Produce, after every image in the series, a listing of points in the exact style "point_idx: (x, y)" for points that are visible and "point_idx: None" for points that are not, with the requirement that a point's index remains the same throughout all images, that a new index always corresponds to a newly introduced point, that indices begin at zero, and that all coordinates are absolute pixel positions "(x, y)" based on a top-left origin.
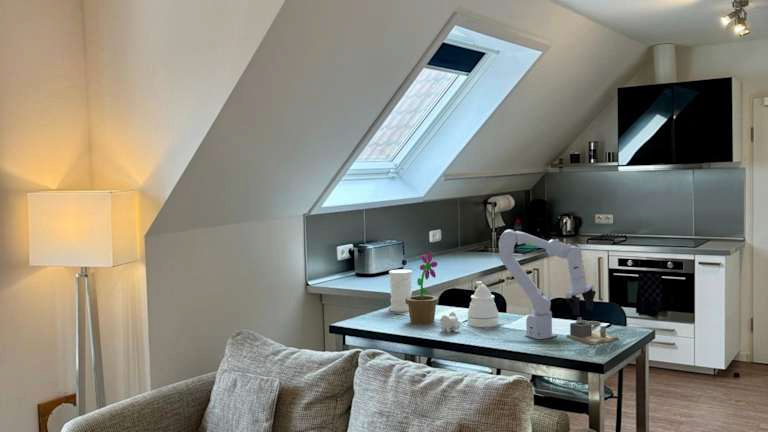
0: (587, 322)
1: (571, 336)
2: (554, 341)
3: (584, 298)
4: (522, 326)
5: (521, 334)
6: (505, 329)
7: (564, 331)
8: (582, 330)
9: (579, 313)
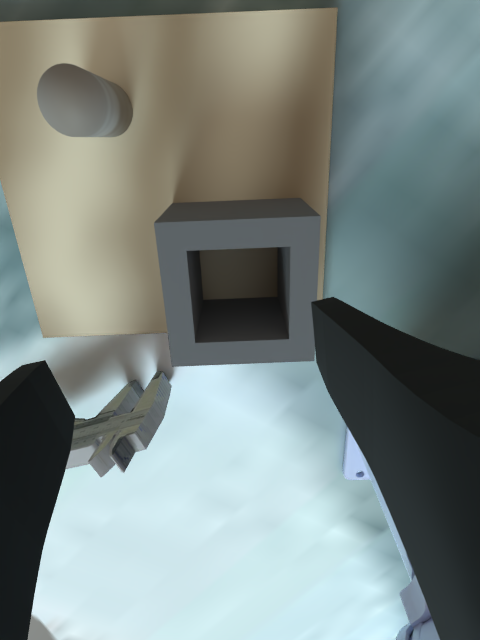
0: None
1: (323, 275)
2: (474, 273)
3: (21, 607)
4: (327, 602)
5: None
6: None
7: (210, 443)
8: (285, 207)
9: (321, 305)
